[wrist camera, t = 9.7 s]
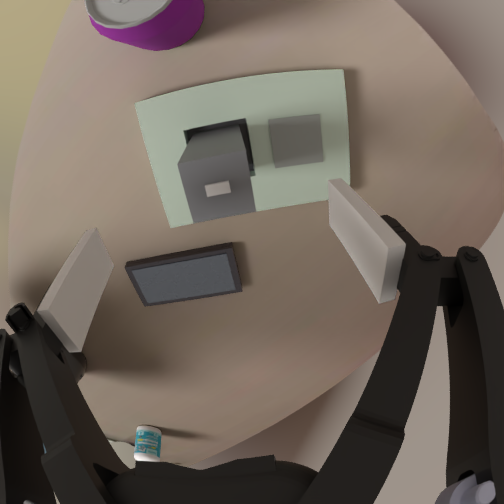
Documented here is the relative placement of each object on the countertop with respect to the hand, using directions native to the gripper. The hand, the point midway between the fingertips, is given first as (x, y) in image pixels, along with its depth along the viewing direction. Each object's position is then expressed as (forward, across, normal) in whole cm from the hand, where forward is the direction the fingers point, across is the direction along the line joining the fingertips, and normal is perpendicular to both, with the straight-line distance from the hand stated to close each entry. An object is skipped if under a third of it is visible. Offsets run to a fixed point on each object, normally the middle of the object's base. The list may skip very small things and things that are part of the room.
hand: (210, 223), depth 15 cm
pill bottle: (+17, -37, -69) cm, 80 cm away
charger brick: (+16, +1, 0) cm, 16 cm away
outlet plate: (+16, +4, 0) cm, 16 cm away
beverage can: (+16, -2, +16) cm, 22 cm away
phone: (+16, -7, -15) cm, 23 cm away
